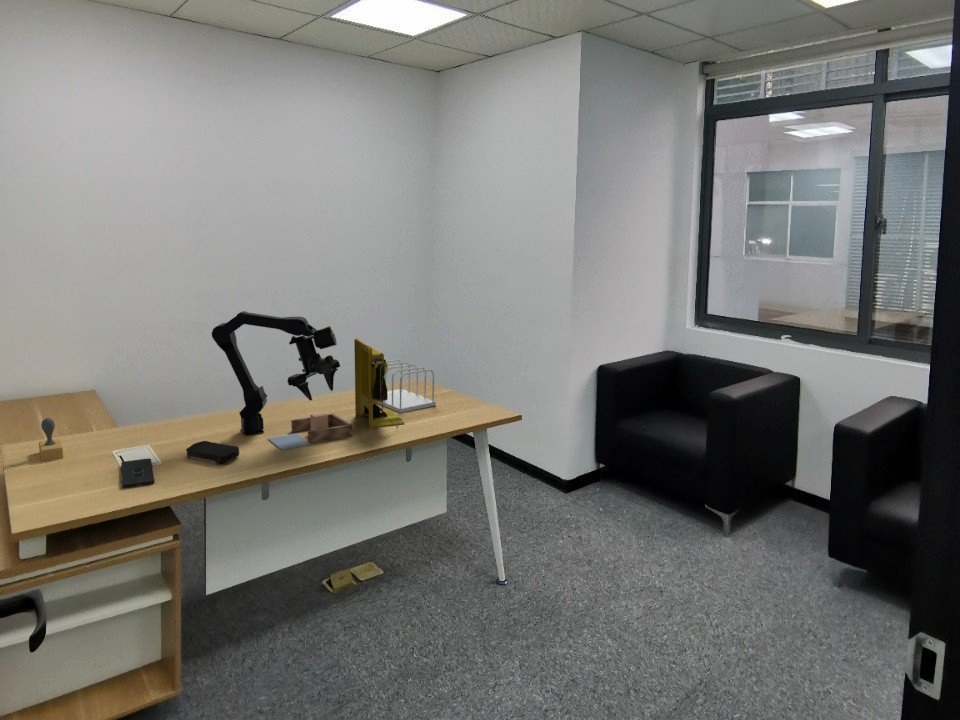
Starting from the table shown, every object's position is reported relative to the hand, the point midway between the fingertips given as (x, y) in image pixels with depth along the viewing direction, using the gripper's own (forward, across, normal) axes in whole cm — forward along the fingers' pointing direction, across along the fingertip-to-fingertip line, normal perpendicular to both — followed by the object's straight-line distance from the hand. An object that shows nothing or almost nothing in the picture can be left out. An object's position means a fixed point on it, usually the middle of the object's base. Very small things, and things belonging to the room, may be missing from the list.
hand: (321, 395), depth 240 cm
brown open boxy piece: (+12, -5, +1) cm, 13 cm away
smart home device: (0, -63, +7) cm, 63 cm away
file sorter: (+20, +42, +12) cm, 48 cm away
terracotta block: (+12, -5, +1) cm, 13 cm away
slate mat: (+10, -17, +1) cm, 20 cm away
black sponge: (+5, -41, +4) cm, 42 cm away
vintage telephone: (+18, +19, -2) cm, 27 cm away
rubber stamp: (-9, -73, +40) cm, 84 cm away
